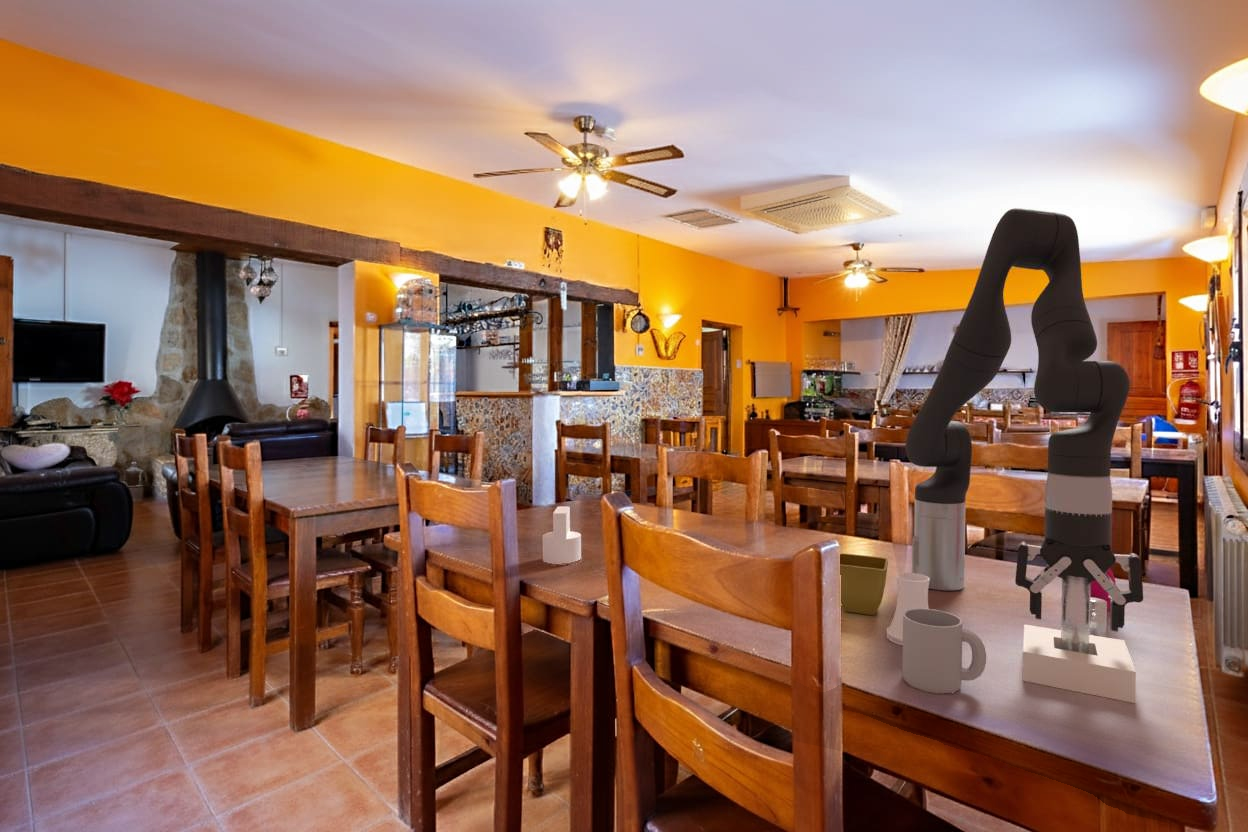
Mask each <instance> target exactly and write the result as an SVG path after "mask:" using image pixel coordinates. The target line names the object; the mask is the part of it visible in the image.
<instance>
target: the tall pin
mask: <svg viewBox="0 0 1248 832" xmlns="http://www.w3.org/2000/svg"><path fill="white" fill-rule="evenodd" d="M1061 582H1062V583H1061V614H1060V615H1061V621H1060V622H1061V625H1060V627H1061V628H1060V630H1061V649H1062V650H1068V651H1074V652H1079V653H1085V654H1089V631H1090V589H1091V583H1088V579H1087V578H1086V577H1078V576H1070V575H1066V580H1063V579H1062V578H1061Z"/></svg>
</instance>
